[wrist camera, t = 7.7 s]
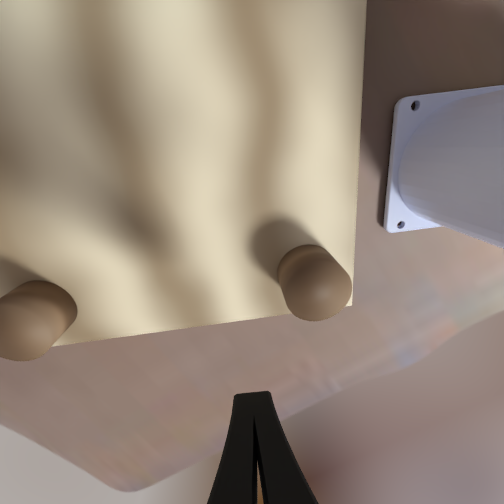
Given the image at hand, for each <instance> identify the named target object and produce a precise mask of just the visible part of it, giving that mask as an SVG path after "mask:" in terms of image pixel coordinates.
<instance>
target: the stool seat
mask: <svg viewBox="0 0 504 504" xmlns="http://www.w3.org/2000/svg"><path fill="white" fill-rule="evenodd" d="M366 5H367V0H0V357H2V358H5V359H9V360H14V361H30V360H34V359H37V358H39V357H41V356H42V355H44V354H45V353H46V352H47V351H48V350H49V349H50V347H51V346H58V345H66V344H73V343H80V342H88V341H95V340H102V339H110V338H117V337H124V336H132V335H139V334H146V333H154V332H161V331H168V330H175V329H183V328H190V327H197V326H205V325H212V324H219V323H227V322H234V321H241V320H249V319H256V318H263V317H271V316H278V315H285V314H294V315H295V316H296V317H298V318H300V319H303V320H307V321H321V320H325V319H328V318H330V317H332V316H334V315H336V314H337V313H339V312H340V311H341V310H342V309H343V308H344V307H345V306H351V305H352V291H353V271H354V250H355V230H356V210H357V189H358V169H359V148H360V128H361V108H362V87H363V67H364V46H365V26H366Z"/></svg>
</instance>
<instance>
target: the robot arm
mask: <svg viewBox="0 0 504 504" xmlns="http://www.w3.org/2000/svg"><path fill="white" fill-rule="evenodd" d="M413 102H414V103H415V105H416V107H415V109H414V110H412V109H411V105H412V103H413ZM399 222H401V225H400V226H399V227H397V224H398V223H399ZM440 226H444V227H447V228H449V229H452V230H455V231H457V232H460V233H463V234H465V235H468V236H471V237H473V238H476V239H479V240H481V241H484V242H487V243H489V244H492V245H495V246H497V247H500V248H503V249H504V85H499V86H490V87H482V88H474V89H466V90H458V91H450V92H441V93H433V94H425V95H417V96H409V97H405V98H402V99H400V100H399V101H398V102H397V103H396V105H395V109H394V119H393V130H392V141H391V151H390V162H389V172H388V183H387V194H386V204H385V215H384V229H385V230H386V231H388V232H390V233H395V232H402V231H410V230H418V229H425V228H433V227H440ZM257 461H258V468H259V475H260V481H261V488H262V495H263V502H264V504H318V502H317V500H316V498H315V496H314V494H313V493H312V491H311V489H310V487H309V485H308V483H307V481H306V479H305V477H304V475H303V473H302V471H301V469H300V467H299V465H298V463H297V461H296V459H295V456H294V454H293V452H292V450H291V448H290V445H289V443H288V441H287V439H286V436H285V434H284V431H283V429H282V426H281V424H280V421H279V419H278V416H277V413H276V410H275V407H274V404H273V400H272V396H271V393H270V392H269V391H262V392H252V393H242V394H236V395H235V396H234V400H233V409H232V415H231V420H230V425H229V430H228V434H227V438H226V442H225V446H224V450H223V454H222V457H221V461H220V464H219V468H218V471H217V474H216V477H215V481H214V484H213V487H212V490H211V493H210V497H209V499H208V502H207V504H257Z"/></svg>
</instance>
